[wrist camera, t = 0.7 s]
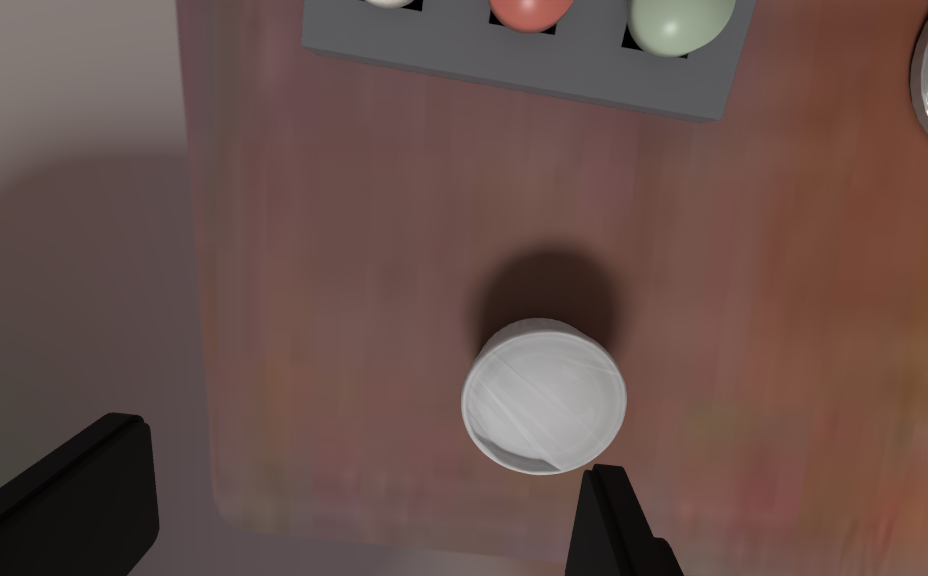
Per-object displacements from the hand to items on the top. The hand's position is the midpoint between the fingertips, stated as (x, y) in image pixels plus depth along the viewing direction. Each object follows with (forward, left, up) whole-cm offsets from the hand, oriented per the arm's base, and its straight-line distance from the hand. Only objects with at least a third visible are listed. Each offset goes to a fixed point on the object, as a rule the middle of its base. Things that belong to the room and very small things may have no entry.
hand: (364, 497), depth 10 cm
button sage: (-10, -17, -25) cm, 32 cm away
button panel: (-2, -17, -27) cm, 31 cm away
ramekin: (-8, +8, -27) cm, 29 cm away
